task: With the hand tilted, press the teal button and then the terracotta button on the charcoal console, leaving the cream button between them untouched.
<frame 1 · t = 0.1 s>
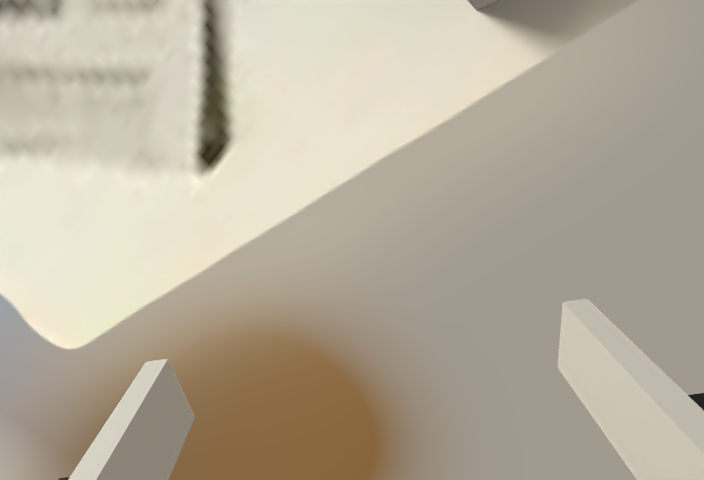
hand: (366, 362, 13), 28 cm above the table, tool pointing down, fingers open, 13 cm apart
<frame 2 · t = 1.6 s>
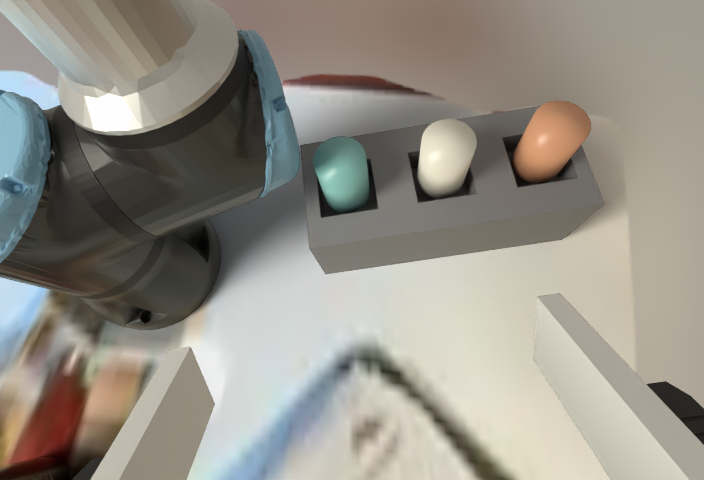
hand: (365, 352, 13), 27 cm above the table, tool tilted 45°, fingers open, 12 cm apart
cream button: (444, 161, 34), point 11 cm above the table, slide at 0.0 cm
button console: (432, 212, 44), on the table
teal button: (343, 177, 34), point 11 cm above the table, slide at 0.0 cm
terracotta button: (547, 144, 34), point 11 cm above the table, slide at 0.0 cm
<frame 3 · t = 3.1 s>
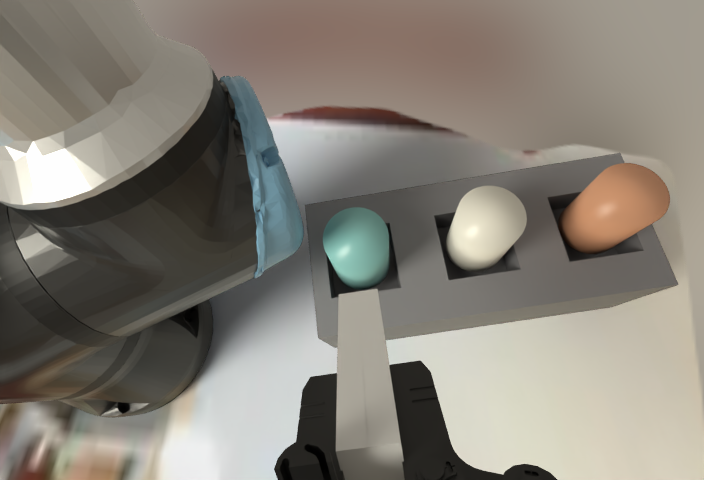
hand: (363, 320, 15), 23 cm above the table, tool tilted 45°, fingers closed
cream button: (481, 232, 28), point 11 cm above the table, slide at 0.0 cm
button console: (457, 271, 38), on the table
teal button: (359, 251, 28), point 11 cm above the table, slide at 0.0 cm
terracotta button: (607, 212, 28), point 11 cm above the table, slide at 0.0 cm
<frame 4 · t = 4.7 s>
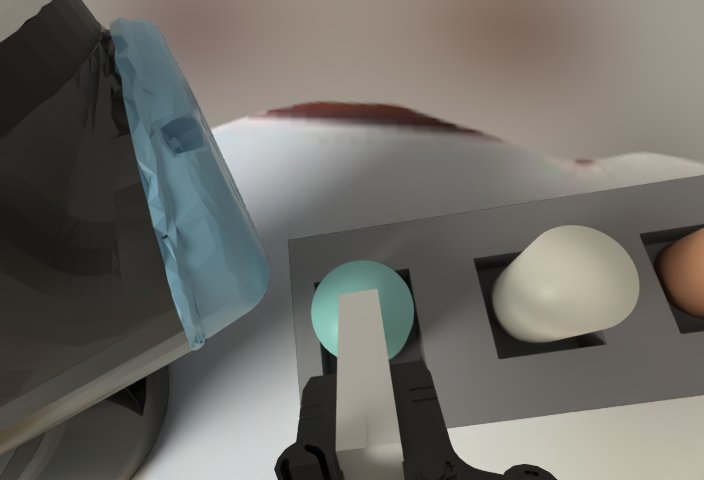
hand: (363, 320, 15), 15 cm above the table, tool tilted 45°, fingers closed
cream button: (551, 291, 18), point 11 cm above the table, slide at 0.0 cm
button console: (494, 322, 29), on the table
teal button: (366, 319, 19), point 11 cm above the table, slide at 0.5 cm, touching gripper
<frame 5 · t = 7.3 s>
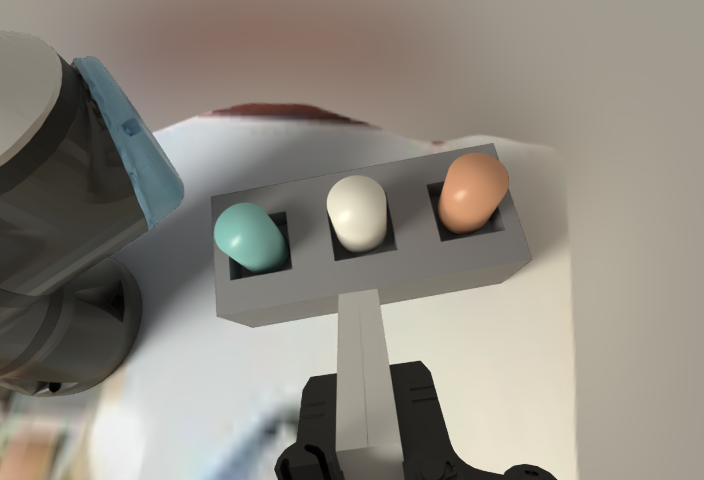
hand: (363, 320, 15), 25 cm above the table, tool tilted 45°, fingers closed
cream button: (359, 217, 31), point 11 cm above the table, slide at 0.0 cm
button console: (366, 255, 42), on the table
teal button: (254, 241, 32), point 10 cm above the table, slide at 1.0 cm
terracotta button: (469, 196, 31), point 11 cm above the table, slide at 0.0 cm
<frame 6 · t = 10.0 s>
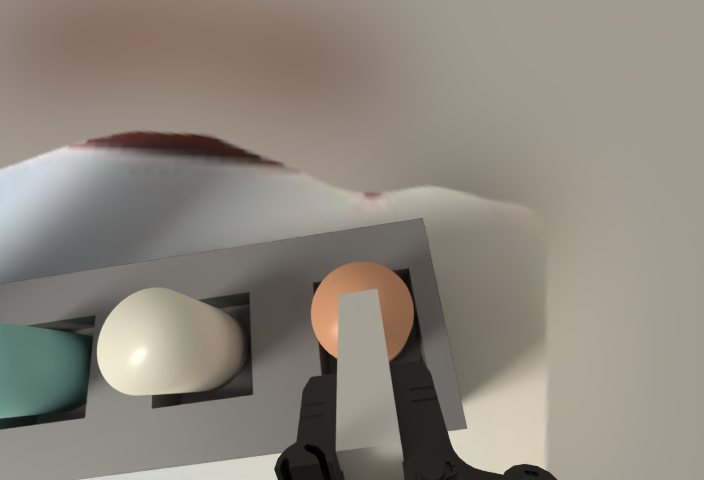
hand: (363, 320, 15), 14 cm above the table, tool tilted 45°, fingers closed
cream button: (183, 345, 19), point 11 cm above the table, slide at 0.0 cm
button console: (256, 357, 29), on the table
teal button: (26, 370, 20), point 10 cm above the table, slide at 1.0 cm
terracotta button: (366, 320, 19), point 10 cm above the table, slide at 0.8 cm, touching gripper
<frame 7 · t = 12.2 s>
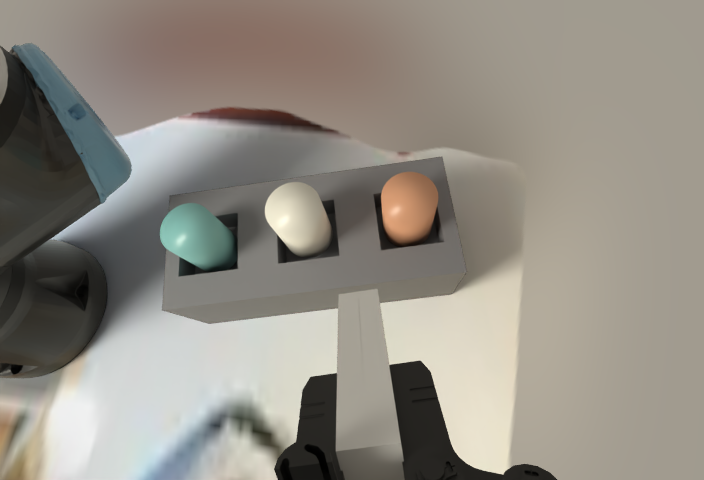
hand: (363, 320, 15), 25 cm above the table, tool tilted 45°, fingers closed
cream button: (301, 222, 32), point 11 cm above the table, slide at 0.0 cm
button console: (323, 259, 43), on the table
teal button: (203, 240, 34), point 10 cm above the table, slide at 1.0 cm
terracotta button: (408, 212, 33), point 10 cm above the table, slide at 0.9 cm
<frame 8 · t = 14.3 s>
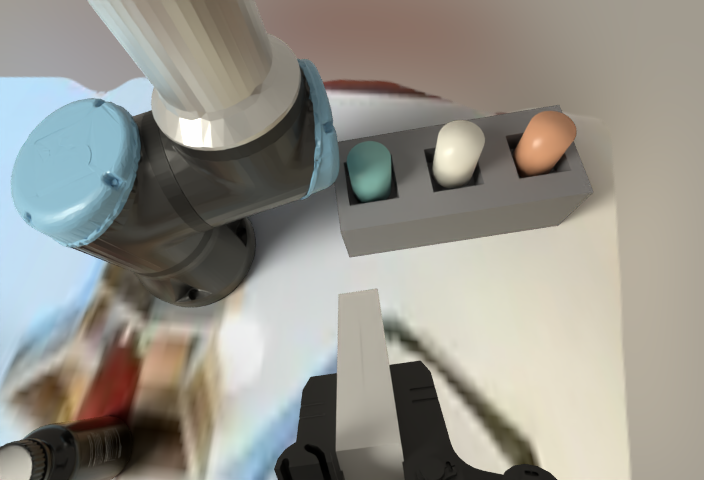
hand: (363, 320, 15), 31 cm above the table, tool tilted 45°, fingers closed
cream button: (456, 156, 40), point 11 cm above the table, slide at 0.0 cm
button console: (443, 202, 50), on the table
supplement bottle: (107, 448, 44), on the table
teal button: (370, 175, 41), point 10 cm above the table, slide at 1.0 cm
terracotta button: (541, 147, 40), point 10 cm above the table, slide at 0.9 cm
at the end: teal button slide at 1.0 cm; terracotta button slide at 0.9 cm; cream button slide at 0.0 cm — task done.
